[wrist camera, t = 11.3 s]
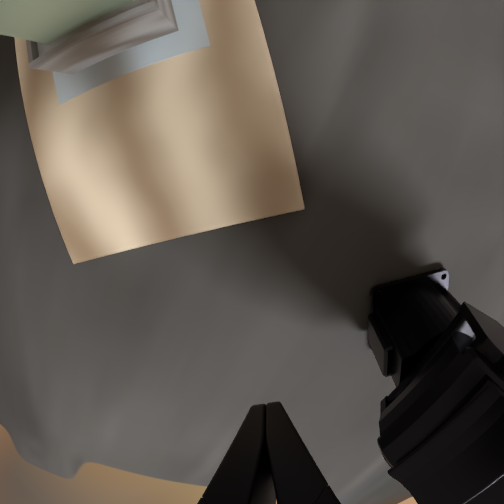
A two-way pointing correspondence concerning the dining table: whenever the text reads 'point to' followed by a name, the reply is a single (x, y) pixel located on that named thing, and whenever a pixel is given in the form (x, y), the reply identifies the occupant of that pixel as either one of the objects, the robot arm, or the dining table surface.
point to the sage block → (50, 17)
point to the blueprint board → (158, 124)
